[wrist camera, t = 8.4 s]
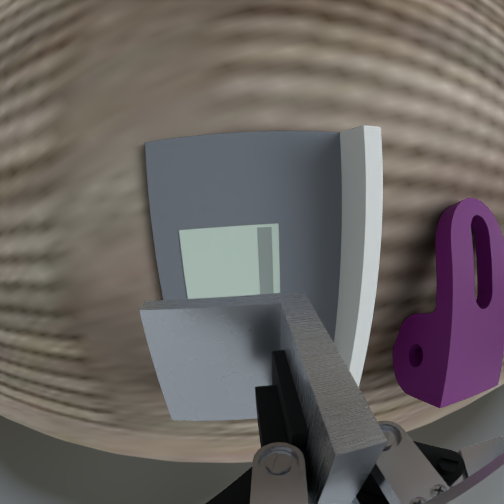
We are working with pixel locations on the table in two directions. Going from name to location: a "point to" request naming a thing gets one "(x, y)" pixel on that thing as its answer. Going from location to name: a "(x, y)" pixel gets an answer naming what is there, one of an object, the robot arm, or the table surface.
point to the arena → (273, 221)
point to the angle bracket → (265, 377)
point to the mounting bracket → (457, 313)
